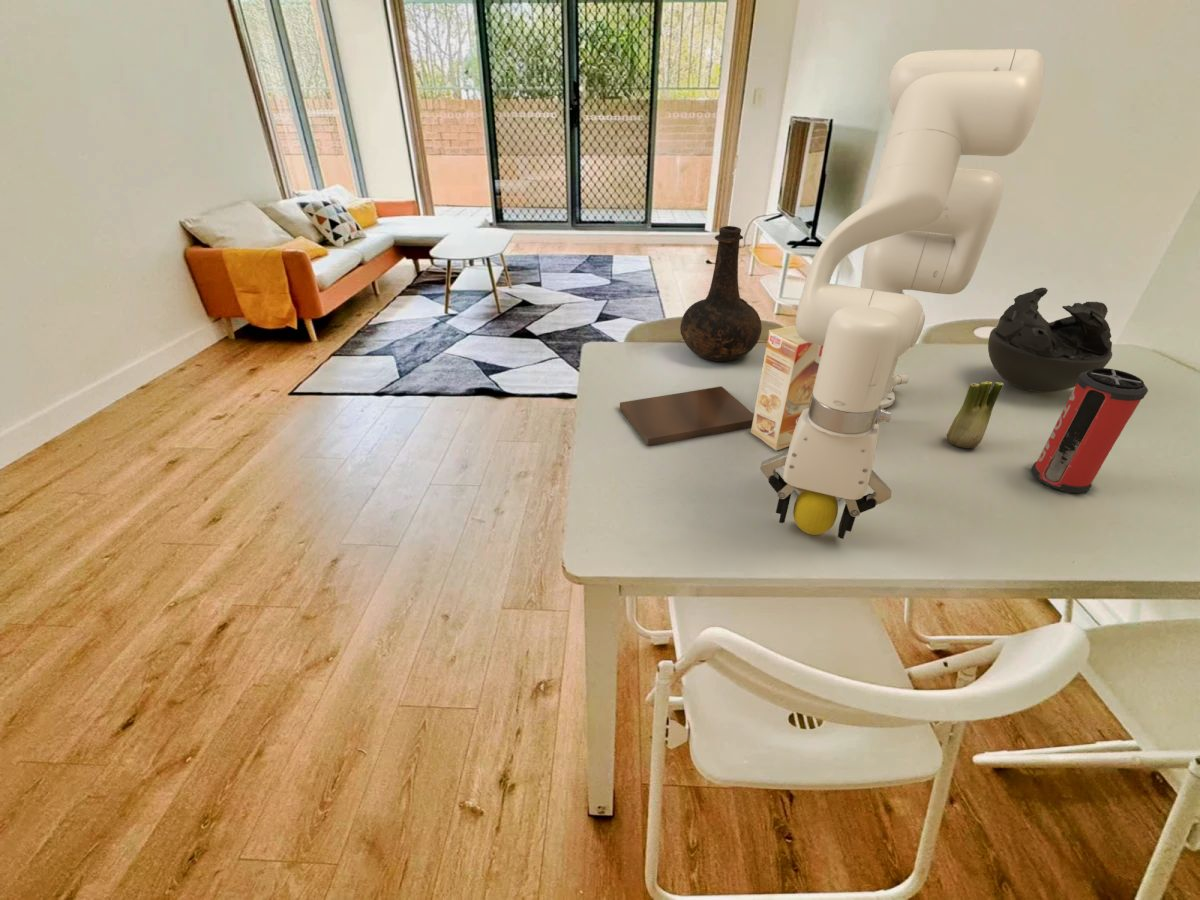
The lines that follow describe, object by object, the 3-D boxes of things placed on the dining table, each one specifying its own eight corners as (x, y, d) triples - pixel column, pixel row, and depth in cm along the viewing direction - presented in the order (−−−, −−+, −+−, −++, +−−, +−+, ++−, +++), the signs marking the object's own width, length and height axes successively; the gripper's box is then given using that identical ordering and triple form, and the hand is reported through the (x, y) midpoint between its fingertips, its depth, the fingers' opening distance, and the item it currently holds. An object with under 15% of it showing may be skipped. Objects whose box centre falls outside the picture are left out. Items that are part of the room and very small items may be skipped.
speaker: (1091, 500, 84) (1156, 393, 74) (1030, 484, 88) (1085, 380, 78) (1086, 475, 90) (1146, 372, 80) (1029, 461, 93) (1080, 361, 83)
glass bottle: (770, 353, 131) (793, 227, 116) (728, 377, 120) (747, 241, 105) (707, 334, 141) (720, 215, 126) (663, 354, 130) (671, 227, 115)
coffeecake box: (776, 451, 95) (798, 344, 85) (748, 432, 101) (766, 329, 90) (839, 431, 101) (867, 328, 91) (810, 414, 106) (833, 314, 96)
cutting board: (720, 392, 114) (721, 386, 113) (758, 425, 103) (759, 418, 102) (619, 409, 108) (619, 402, 107) (647, 446, 97) (647, 438, 96)
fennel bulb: (977, 440, 98) (1004, 378, 92) (983, 455, 95) (1011, 391, 88) (940, 435, 100) (964, 373, 94) (945, 449, 96) (970, 386, 90)
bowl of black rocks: (1104, 417, 106) (1158, 321, 95) (984, 401, 111) (1023, 308, 101) (1067, 374, 122) (1111, 288, 111) (964, 362, 127) (996, 278, 117)
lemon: (832, 549, 75) (847, 502, 71) (790, 543, 76) (801, 496, 72) (827, 523, 80) (840, 477, 75) (787, 518, 81) (797, 472, 76)
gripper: (920, 412, 67) (880, 525, 77) (773, 386, 73) (753, 494, 83) (923, 442, 62) (879, 560, 71) (763, 411, 67) (742, 524, 77)
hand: (811, 524), depth 77 cm, fingers open, 7 cm apart
